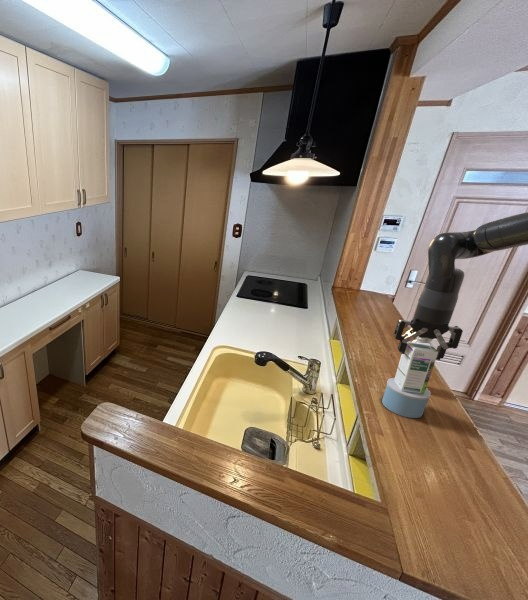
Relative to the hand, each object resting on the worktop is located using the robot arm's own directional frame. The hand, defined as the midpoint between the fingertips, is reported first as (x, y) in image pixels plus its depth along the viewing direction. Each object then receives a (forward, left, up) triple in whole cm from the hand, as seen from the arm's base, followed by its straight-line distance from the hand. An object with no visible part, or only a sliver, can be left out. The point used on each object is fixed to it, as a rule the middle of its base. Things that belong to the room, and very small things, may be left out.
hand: (419, 355), depth 95 cm
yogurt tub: (0, 0, -19) cm, 19 cm away
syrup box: (0, 0, -11) cm, 11 cm away
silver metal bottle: (-5, -15, -19) cm, 25 cm away
